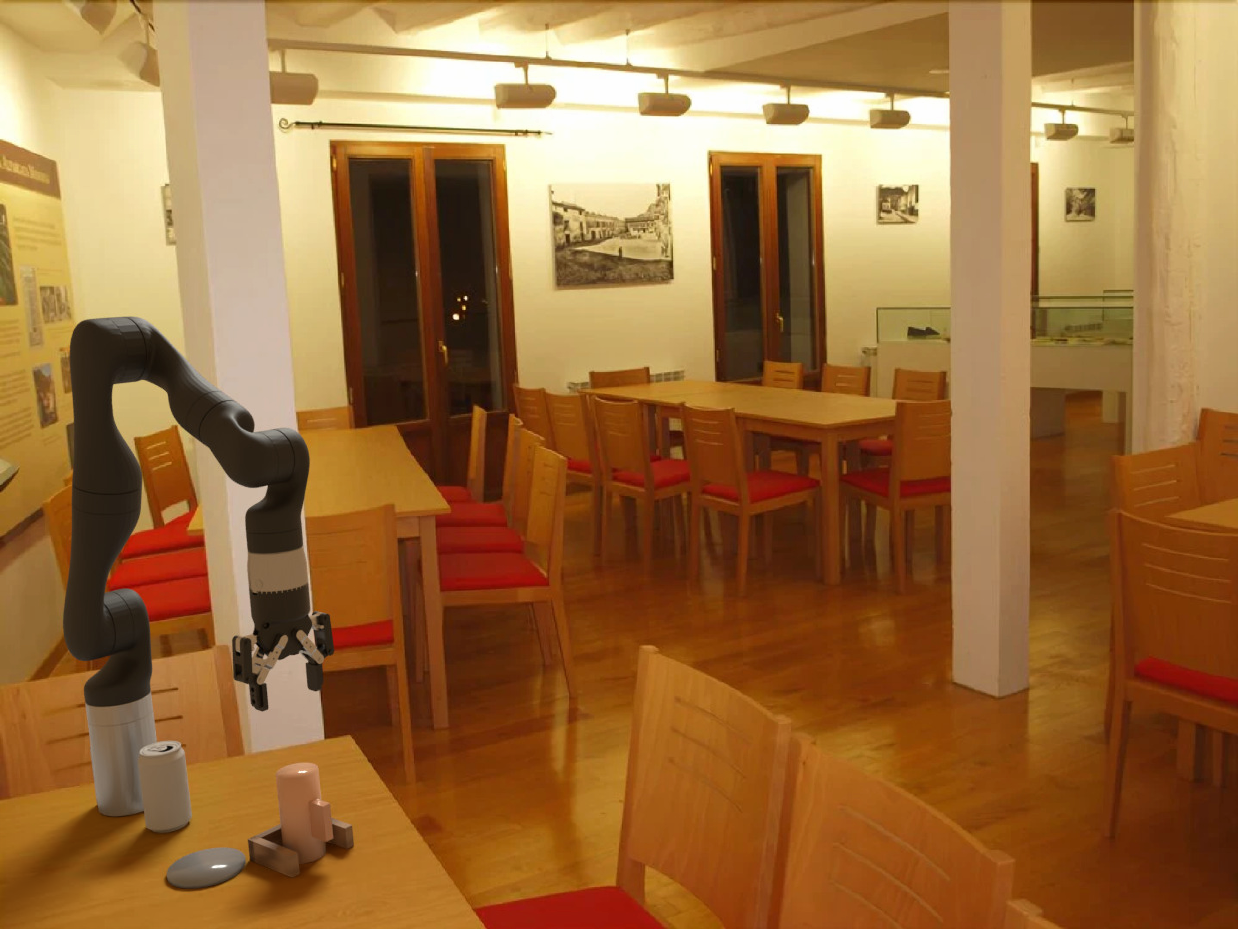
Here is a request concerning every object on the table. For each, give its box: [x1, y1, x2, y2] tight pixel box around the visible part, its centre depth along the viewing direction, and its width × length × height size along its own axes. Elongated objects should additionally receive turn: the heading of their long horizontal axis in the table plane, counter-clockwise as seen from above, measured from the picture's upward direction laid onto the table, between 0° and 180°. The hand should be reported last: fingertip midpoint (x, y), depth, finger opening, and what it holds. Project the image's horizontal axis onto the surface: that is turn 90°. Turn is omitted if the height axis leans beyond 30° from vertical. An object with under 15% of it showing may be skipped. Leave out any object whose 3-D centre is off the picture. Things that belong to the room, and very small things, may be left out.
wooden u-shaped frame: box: [247, 817, 355, 879], centre depth 159 cm, size 9×10×3 cm
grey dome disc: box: [166, 847, 247, 890], centre depth 156 cm, size 10×10×1 cm
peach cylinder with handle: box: [275, 762, 333, 865], centre depth 157 cm, size 8×6×12 cm, turn 53°
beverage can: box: [138, 740, 193, 834], centre depth 169 cm, size 6×6×12 cm
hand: (288, 699), depth 154 cm, fingers open, 8 cm apart
